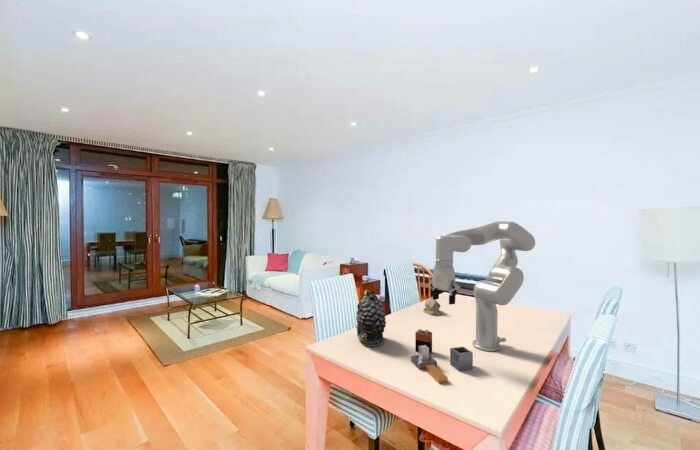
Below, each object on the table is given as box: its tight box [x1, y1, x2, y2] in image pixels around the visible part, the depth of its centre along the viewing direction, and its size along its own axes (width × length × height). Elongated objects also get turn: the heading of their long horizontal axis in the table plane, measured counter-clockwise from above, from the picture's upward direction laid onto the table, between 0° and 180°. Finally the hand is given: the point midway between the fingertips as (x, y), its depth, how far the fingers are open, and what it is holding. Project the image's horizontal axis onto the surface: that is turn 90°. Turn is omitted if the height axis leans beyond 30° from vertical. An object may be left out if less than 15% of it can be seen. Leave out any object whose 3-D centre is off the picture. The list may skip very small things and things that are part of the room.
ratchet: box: [410, 345, 449, 385], centre depth 130 cm, size 20×8×8 cm, turn 14°
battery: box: [414, 328, 433, 355], centre depth 149 cm, size 4×7×10 cm, turn 59°
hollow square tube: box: [449, 346, 474, 372], centre depth 133 cm, size 6×6×7 cm
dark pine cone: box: [355, 289, 387, 347], centre depth 163 cm, size 21×15×25 cm
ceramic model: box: [423, 296, 443, 316], centre depth 211 cm, size 14×11×10 cm
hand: (443, 301), depth 144 cm, fingers open, 9 cm apart
